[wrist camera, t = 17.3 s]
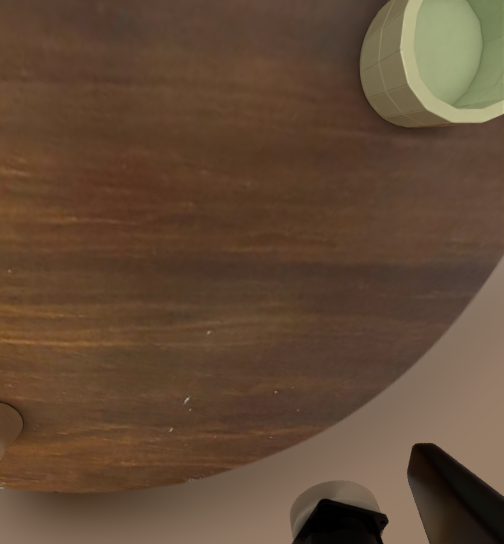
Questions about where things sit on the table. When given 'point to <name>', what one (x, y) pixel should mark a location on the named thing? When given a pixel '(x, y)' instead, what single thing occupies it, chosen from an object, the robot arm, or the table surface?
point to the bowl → (435, 62)
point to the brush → (8, 427)
